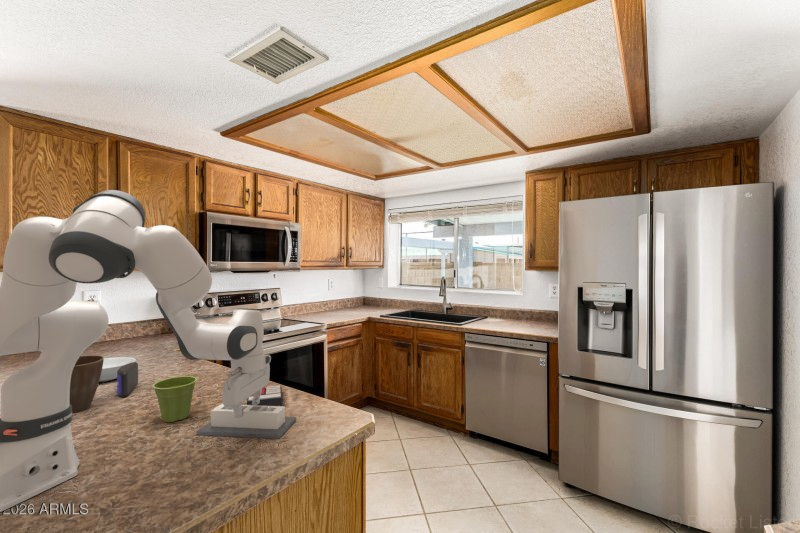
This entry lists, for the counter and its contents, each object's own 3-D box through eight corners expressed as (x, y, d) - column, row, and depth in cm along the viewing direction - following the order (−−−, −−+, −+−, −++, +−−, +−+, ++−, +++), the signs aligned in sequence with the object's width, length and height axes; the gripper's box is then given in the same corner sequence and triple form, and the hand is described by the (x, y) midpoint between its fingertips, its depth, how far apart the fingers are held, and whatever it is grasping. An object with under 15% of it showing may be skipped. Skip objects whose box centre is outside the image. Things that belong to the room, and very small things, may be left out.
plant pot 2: (158, 413, 118) (157, 378, 118) (200, 408, 122) (199, 374, 122) (147, 429, 107) (147, 390, 107) (194, 422, 111) (193, 385, 111)
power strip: (277, 429, 104) (277, 412, 104) (210, 426, 106) (210, 409, 106) (285, 421, 109) (284, 405, 109) (221, 418, 111) (221, 403, 111)
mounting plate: (278, 438, 100) (278, 415, 100) (196, 434, 103) (196, 412, 103) (296, 420, 112) (296, 399, 112) (221, 417, 115) (221, 396, 115)
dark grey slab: (124, 386, 145) (124, 362, 145) (138, 384, 147) (138, 360, 147) (111, 399, 130) (111, 373, 130) (127, 397, 132) (127, 371, 132)
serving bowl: (127, 383, 149) (127, 366, 149) (61, 390, 141) (61, 372, 141) (142, 369, 168) (142, 354, 168) (85, 375, 160) (84, 359, 160)
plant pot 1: (111, 407, 123) (111, 359, 123) (51, 422, 111) (51, 369, 111) (95, 398, 132) (94, 353, 132) (38, 412, 119) (37, 362, 119)
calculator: (281, 383, 136) (282, 395, 122) (281, 395, 136) (282, 408, 122) (249, 387, 133) (246, 399, 119) (249, 399, 133) (246, 412, 119)
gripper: (238, 374, 97) (238, 426, 97) (273, 355, 117) (273, 398, 117) (216, 373, 98) (216, 425, 98) (254, 354, 118) (254, 397, 118)
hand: (247, 410), depth 108 cm, fingers open, 8 cm apart
